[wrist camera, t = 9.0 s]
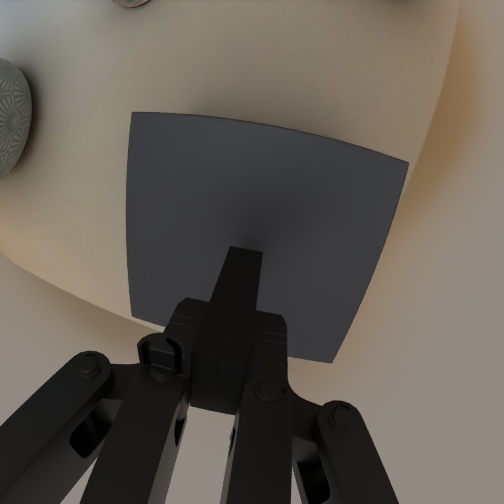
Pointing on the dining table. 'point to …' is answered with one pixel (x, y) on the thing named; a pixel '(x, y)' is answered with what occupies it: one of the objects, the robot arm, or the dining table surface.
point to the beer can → (129, 2)
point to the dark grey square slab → (256, 220)
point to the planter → (13, 115)
